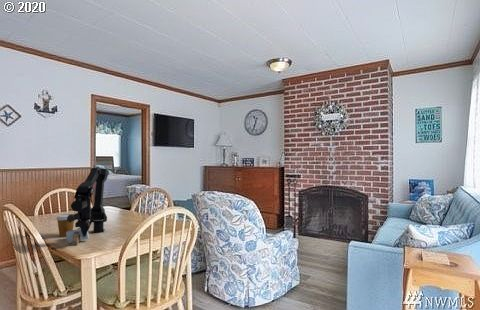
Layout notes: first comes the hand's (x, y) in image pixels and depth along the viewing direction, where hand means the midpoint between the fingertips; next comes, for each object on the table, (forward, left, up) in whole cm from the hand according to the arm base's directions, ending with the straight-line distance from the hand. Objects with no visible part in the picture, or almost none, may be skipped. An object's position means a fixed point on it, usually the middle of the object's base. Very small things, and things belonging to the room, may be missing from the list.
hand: (84, 236), depth 159 cm
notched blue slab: (0, -3, -2) cm, 4 cm away
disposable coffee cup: (-16, -13, -3) cm, 21 cm away
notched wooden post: (0, -4, -3) cm, 5 cm away
